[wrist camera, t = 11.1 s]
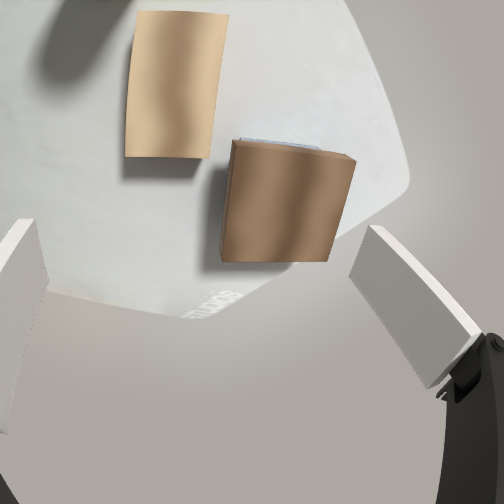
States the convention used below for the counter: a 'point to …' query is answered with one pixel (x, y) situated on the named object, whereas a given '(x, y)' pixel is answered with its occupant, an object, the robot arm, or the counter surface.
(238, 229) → the lid
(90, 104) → the counter surface
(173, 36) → the tan wooden block
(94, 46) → the counter surface
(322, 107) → the counter surface
